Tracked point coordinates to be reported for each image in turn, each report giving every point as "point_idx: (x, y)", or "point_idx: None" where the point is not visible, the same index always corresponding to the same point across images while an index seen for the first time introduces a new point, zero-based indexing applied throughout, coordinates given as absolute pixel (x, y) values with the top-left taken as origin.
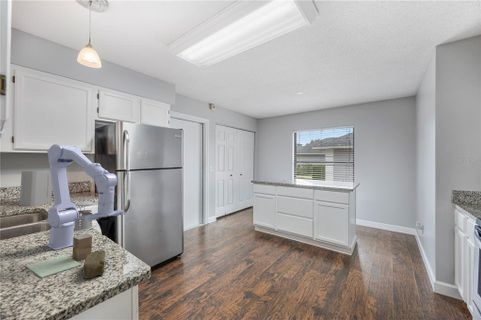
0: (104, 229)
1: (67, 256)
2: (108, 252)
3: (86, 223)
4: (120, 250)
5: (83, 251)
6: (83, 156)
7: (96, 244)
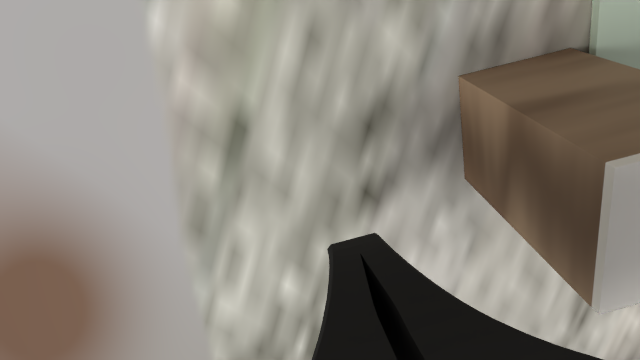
0: (424, 279)
1: None
2: (298, 90)
3: None
4: (174, 63)
5: (578, 78)
6: None
7: None
